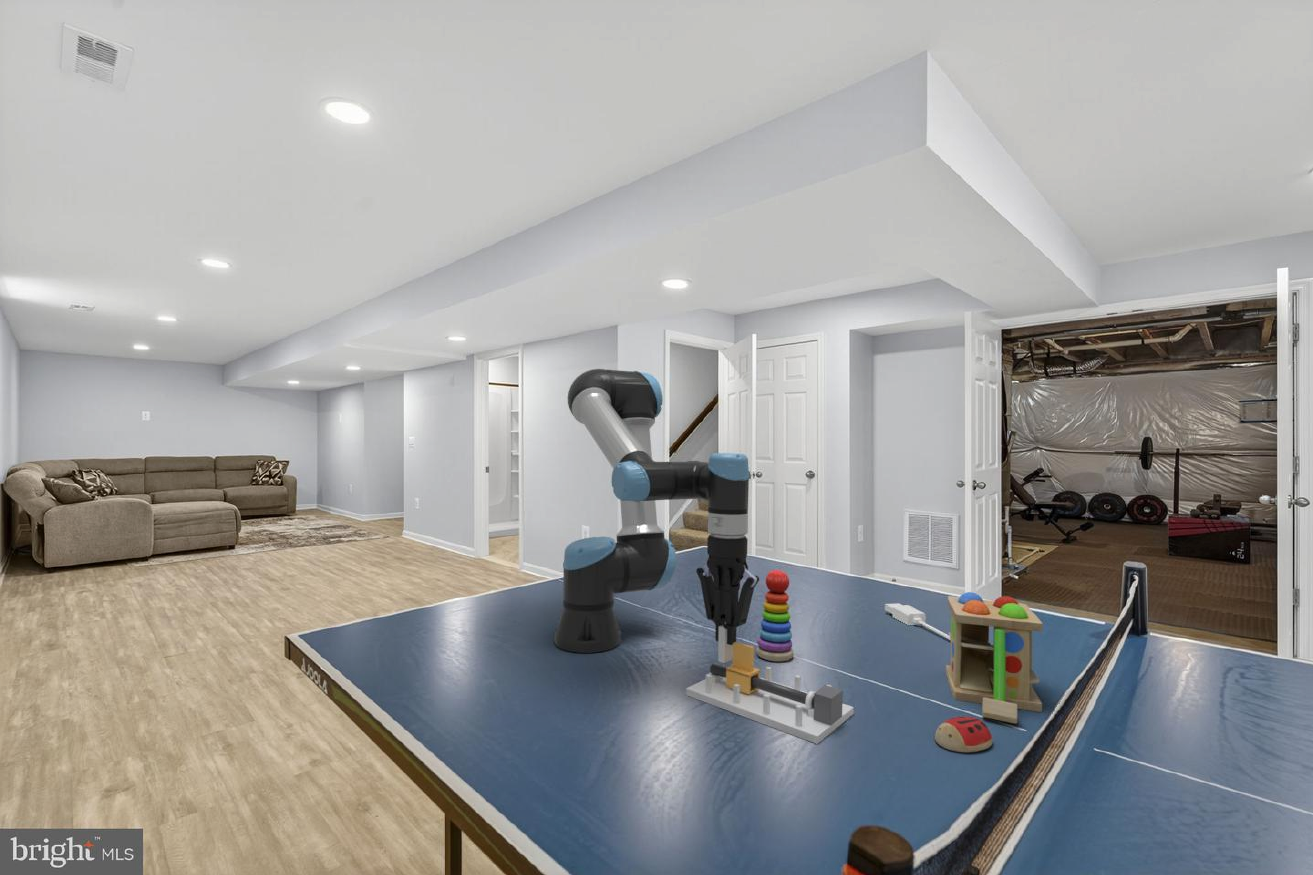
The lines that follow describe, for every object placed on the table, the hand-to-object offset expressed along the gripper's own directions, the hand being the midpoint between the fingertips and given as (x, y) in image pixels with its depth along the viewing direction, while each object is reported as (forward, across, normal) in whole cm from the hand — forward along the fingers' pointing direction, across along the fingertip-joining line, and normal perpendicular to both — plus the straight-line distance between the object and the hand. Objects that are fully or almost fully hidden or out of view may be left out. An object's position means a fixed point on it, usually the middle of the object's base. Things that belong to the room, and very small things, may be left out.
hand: (725, 659), depth 114 cm
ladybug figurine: (+6, +39, +10) cm, 41 cm away
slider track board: (+6, +9, 0) cm, 11 cm away
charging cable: (+6, +17, +65) cm, 67 cm away
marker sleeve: (+4, +4, 0) cm, 6 cm away
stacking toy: (+6, -2, +22) cm, 23 cm away
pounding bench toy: (+6, +39, +31) cm, 50 cm away
